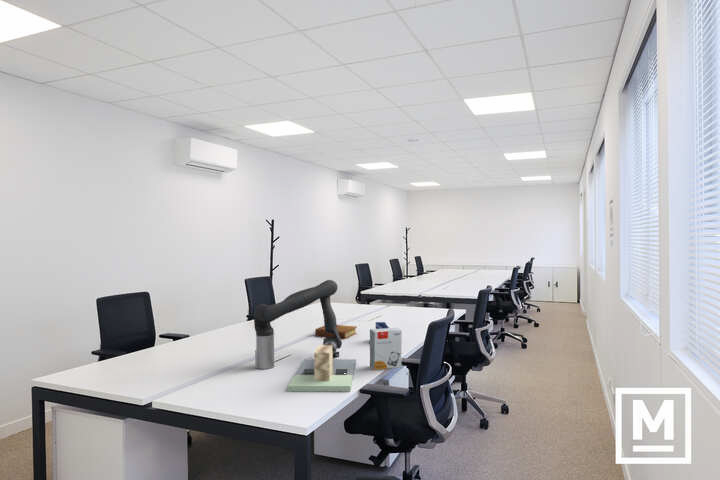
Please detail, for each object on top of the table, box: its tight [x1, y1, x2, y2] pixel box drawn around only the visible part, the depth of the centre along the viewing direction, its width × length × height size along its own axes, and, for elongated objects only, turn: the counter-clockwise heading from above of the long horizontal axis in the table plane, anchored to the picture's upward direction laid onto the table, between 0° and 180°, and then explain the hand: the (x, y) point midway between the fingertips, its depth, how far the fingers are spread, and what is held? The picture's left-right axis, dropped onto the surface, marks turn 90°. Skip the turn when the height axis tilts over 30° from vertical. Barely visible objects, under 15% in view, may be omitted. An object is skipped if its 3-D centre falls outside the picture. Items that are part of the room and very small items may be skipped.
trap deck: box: [287, 358, 357, 393], centre depth 227 cm, size 28×44×2 cm, turn 177°
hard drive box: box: [369, 327, 403, 371], centre depth 241 cm, size 16×8×20 cm, turn 105°
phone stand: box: [375, 321, 390, 329], centre depth 298 cm, size 12×12×12 cm
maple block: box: [313, 344, 333, 381], centre depth 219 cm, size 7×15×13 cm, turn 178°
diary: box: [314, 324, 358, 340], centre depth 321 cm, size 23×19×6 cm
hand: (325, 358), depth 227 cm, fingers closed
